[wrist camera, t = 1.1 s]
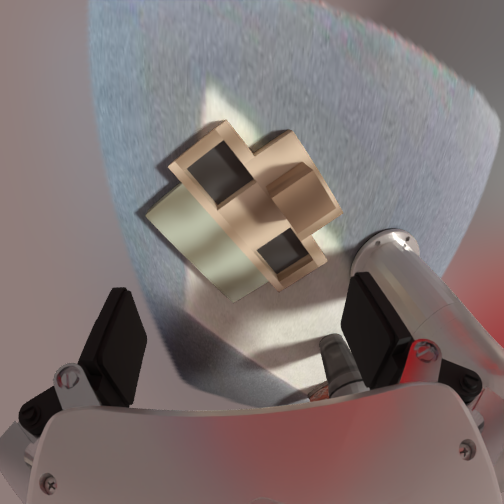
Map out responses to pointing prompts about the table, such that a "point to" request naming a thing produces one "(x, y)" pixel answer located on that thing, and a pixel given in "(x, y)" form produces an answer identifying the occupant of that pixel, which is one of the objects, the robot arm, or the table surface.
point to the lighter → (319, 393)
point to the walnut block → (300, 197)
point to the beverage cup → (340, 367)
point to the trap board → (238, 213)
